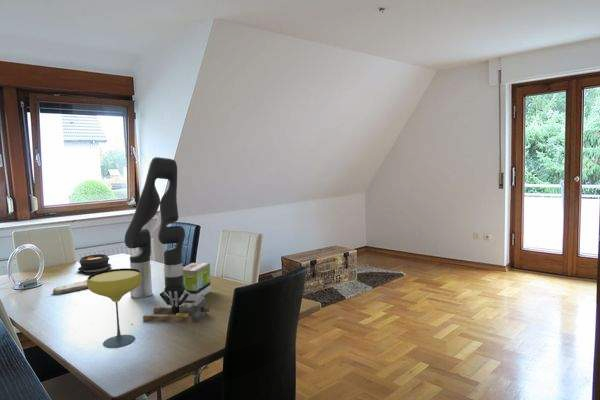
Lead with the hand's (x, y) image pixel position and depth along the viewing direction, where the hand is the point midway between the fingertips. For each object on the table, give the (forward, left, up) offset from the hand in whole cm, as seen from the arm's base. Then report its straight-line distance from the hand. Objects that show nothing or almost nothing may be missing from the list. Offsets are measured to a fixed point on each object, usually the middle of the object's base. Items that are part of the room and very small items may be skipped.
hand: (176, 314), depth 177 cm
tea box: (-2, +28, -2) cm, 28 cm away
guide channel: (+1, 0, -1) cm, 2 cm away
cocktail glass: (-12, -24, -2) cm, 27 cm away
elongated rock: (-66, +42, -2) cm, 78 cm away
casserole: (-83, +75, -2) cm, 112 cm away
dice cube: (+5, +1, -2) cm, 5 cm away
